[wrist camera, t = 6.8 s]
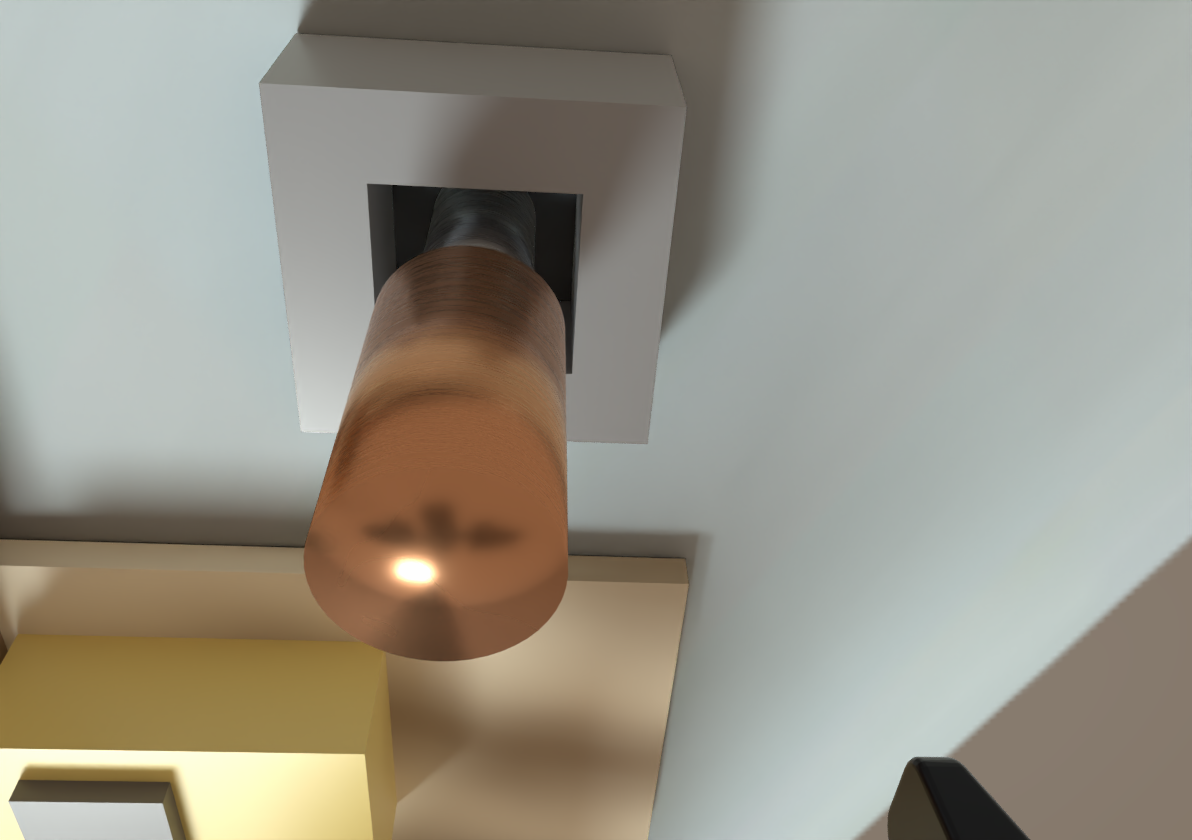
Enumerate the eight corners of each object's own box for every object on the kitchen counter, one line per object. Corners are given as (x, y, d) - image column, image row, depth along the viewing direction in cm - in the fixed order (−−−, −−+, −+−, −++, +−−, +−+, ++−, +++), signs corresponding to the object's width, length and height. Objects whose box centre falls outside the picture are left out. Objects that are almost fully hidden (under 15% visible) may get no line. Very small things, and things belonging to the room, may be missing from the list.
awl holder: (637, 367, 20) (647, 443, 18) (327, 355, 20) (300, 432, 18) (671, 55, 17) (687, 106, 15) (295, 33, 17) (258, 82, 15)
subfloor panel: (644, 823, 29) (645, 849, 28) (91, 816, 28) (80, 843, 28) (685, 559, 23) (688, 584, 23) (-8, 539, 22) (-25, 565, 22)
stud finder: (397, 803, 27) (377, 936, 24) (78, 799, 26) (20, 934, 24) (384, 641, 23) (361, 775, 21) (17, 634, 23) (-59, 769, 20)
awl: (559, 291, 19) (561, 664, 12) (407, 284, 19) (316, 658, 12) (567, 145, 18) (575, 474, 10) (401, 136, 18) (290, 463, 10)
